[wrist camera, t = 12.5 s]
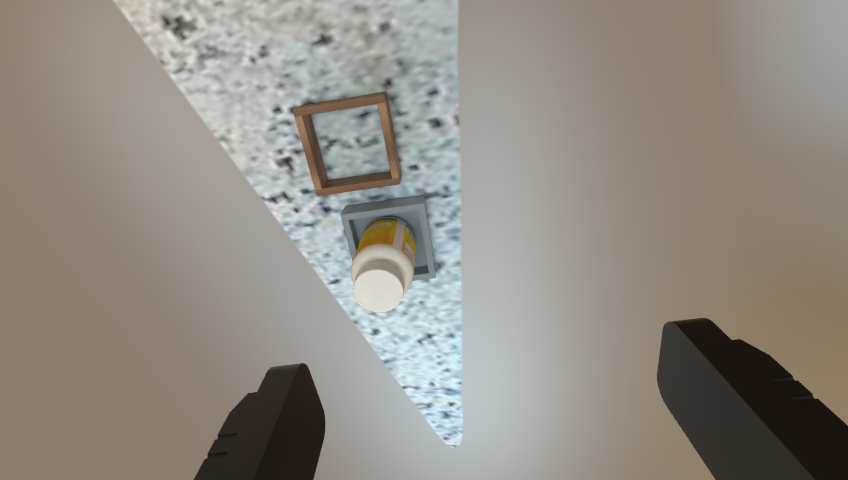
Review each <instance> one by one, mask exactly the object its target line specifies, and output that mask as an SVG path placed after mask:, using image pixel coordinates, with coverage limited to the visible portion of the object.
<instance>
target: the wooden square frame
mask: <svg viewBox="0 0 848 480" xmlns="http://www.w3.org/2000/svg"><path fill="white" fill-rule="evenodd" d="M372 104H378V108H379V113H380V118H381V124H382V129H383V134H384V139H385V144H386V150H387V155H388V160H389V165H390V170H391V171H389V172H382V173H376V174H369V175H362V176H355V177H349V178H342V179H335V180H328V179H327V176H326V172H325V168H324V164H323V160H322V157H321V153H320V149H319V145H318V142H317V138H316V134H315V130H314V126H313V123H312V119H311V115H310V114H316V113H322V112H329V111H335V110H341V109H347V108H353V107H360V106H366V105H372ZM293 113H294V116H295V120H296V123H297V127H298V130H299V134H300V138H301V141H302V145H303V148H304V152H305V155H306V159H307V163H308V166H309V170H310V173H311V177H312V180H313V184H314V187H315V191H316V195H317V196H322V195H329V194H336V193H343V192H349V191H356V190H363V189H370V188H377V187H384V186H391V185H398V184H400V181H401V170H400V165H399V159H398V154H397V148H396V143H395V137H394V132H393V126H392V121H391V115H390V110H389V104H388V99H387V93H386V92H381V93H375V94H368V95H362V96H356V97H350V98H344V99H337V100H331V101H325V102H319V103H313V104H307V105H301V106H299V107H297V108H295V109H293Z"/></svg>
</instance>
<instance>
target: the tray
mask: <svg viewBox="0 0 848 480" xmlns="http://www.w3.org/2000/svg"><path fill="white" fill-rule="evenodd" d="M382 217H395V218H399V219H401V220H403V221H405V222H406V223H407V224H408V225H409V226H410V227H411V228H412V230H413V231H414V234H415V237H416V253H415V265H414V277H413V281H414V280H422V279H430V278H436V270H435V261H434V255H433V249H432V243H431V236H430V230H429V224H428V218H427V211H426V205H425V199H424V195H422V196H415V197H408V198H401V199H394V200H387V201H380V202H373V203H366V204H359V205H352V206H345V207H344V209H343V211H342V213H341V218H342V222H343V226H344V230H345V233H346V237H347V241H348V245H349V249H350V253H351V257H352V260H354V257H355V254H356V252H357V249H358V246H359V243H360V240H361V238H362V235H363V233H364V230H365V229H366V227H367V226H368V225H369V224H370V223H371V222H372V221H374V220H376V219H378V218H382Z"/></svg>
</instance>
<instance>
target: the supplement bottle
mask: <svg viewBox="0 0 848 480" xmlns="http://www.w3.org/2000/svg"><path fill="white" fill-rule="evenodd" d="M415 253H416V237H415V234H414V231H413V230H412V228H411V227H410V226H409V225H408V224H407V223H406V222H405V221H403V220H401V219H399V218H395V217H382V218H378V219H376V220H374V221H372V222H371V223H370V224H369V225H368V226H367V227H366V229H365V230H364V233H363V235H362V238H361V240H360V243H359V246H358V249H357V252H356V254H355V257H354V260H353V262H352V266H351V277H352V281H353V283H354V285H353V294H354V297H355V299H356V301H357V302H358V303H359V304H360V305H361V306H362V307H363V308H365V309H367V310H369V311H373V312H386V311H389V310H392V309H393V308H395V307H396V306H397V305H398V304H399V303H400V302H401V300H402V297H403V294H404V293H405V292H406V291H407V290H408V289H409V287H410V286H411V284H412V281H413V277H414V265H415Z"/></svg>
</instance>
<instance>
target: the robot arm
mask: <svg viewBox="0 0 848 480" xmlns="http://www.w3.org/2000/svg"><path fill="white" fill-rule="evenodd" d="M657 381H658V387H659V390H660V393H661V396H662V398H663V401H664V402H665V404H666V406H667V407H668V409H669V410H670V412H671V413H672V415H673V416H674V418H675V419H676V421H677V422H678V424H679V425H680V427H681V428H682V430H683V431H684V433H685V434H686V436H687V437H688V439H689V440H690V442H691V443H692V445H693V446H694V448H695V449H696V451H697V452H698V454H699V455H700V457H701V458H702V460H703V461H704V463H705V464H706V466H707V467H708V469H709V470H710V472H711V473H712V475H713V476H714V478H715V479H716V480H848V426H847V425H846V424H845V423H844V422H843V421H842V420H841V419H840V418H839V417H837V416H836V415H835V414H834V413H833V412H832V411H831V410H830V409H829V408H828V407H826V406H825V405H824V404H823V403H822V402H821V401H820V400H819V399H814V398H813V394H812V393H811V392H810V391H808V389H806V388H805V387H804V386H803V385H802V384H801V383H800V382H799V381H795V380H794V379H793V376H792V375H791V374H790V373H789V372H788V371H787V370H785V369H784V368H783V367H782V366H781V365H780V364H779V363H778V362H777V361H775V360H774V359H773V358H772V357H771V356H770V355H768V354H766V353H764V352H763V351H761V350H759V349H757V348H755V347H753V346H752V345H750V344H748V343H746V342H744V341H742V340H740V339H738V340H731V339H730V338H729V337H728V336H727V335H726V334H725V333H724V332H723V331H722V330H721V329H719V327H718V326H716V325H715V324H714V323H713V322H712V321H711V320H709V319H707V318H698V319H690V320H681V321H672V322H667V323H666V324H665V325H664V327H663V332H662V340H661V348H660V357H659V364H658V372H657ZM324 434H325V414H324V410H323V407H322V404H321V401H320V398H319V396H318V393H317V390H316V387H315V385H314V382H313V379H312V376H311V374H310V371H309V368H308V367H307V365H306V364H304V363H301V364H293V365H284V366H276V367H271V368H270V369H269V370H268V371H267V373H266V375H265V378H264V379H263V381H262V383H261V385H260V387H259V389H258V392H254V393H248V394H247V395H246V396H245V397H244V398H243V399H242V400H241V402H239V404H238V405H237V406H236V407H235V408H234V409H233V410H232V411H231V412H230V413H229V415H228V417H227V419H226V421H225V423H224V424H223V426H222V428H221V430H220V432H219V434H218V439H217V440H215V441H214V443H213V445H212V447H211V448H210V450H209V452H208V458H207V459H205V460H204V462H203V464H202V465H201V467H200V469H199V471H198V473H197V475H196V477H195V479H194V480H313V479H314V475H315V471H316V467H317V463H318V459H319V456H320V452H321V448H322V444H323V440H324Z"/></svg>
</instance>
